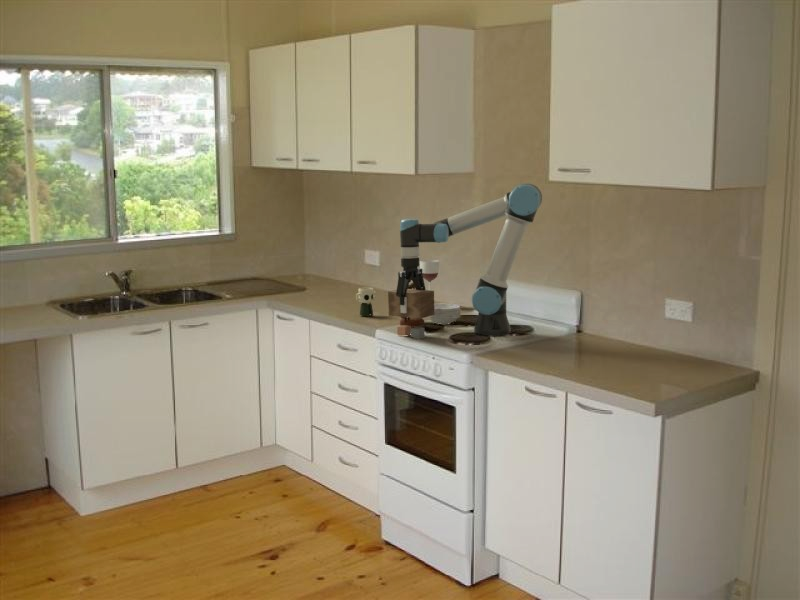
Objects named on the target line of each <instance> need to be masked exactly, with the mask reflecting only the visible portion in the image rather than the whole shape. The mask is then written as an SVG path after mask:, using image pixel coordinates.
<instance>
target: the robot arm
mask: <svg viewBox="0 0 800 600" xmlns="http://www.w3.org/2000/svg"><path fill="white" fill-rule="evenodd" d="M542 201H543V194H542V192H541V190H540V189H539V187H538V186H536V185H535V184H532V183H524V184H523V183H522V184H519V185H517V186H515V187H514V188H513V189H512V190H511V191H508V192H507V193H505V194H504V196H502V197H500V198H498V199H495V200H492V201H489V202H487V203H484V204H482V205H478V206H476V207H473V208H471V209H468V210H465V211H462V212H459V213H457V214H455V215H452V216H448V217H447V218H445V219H441V220H437V221H436V222H432V223H419V219H417V218H405V219H401V221H400V225H399V235H400V257H401V258H400V266H401V267H402V268H403V269H402V271H398V273H397V274H398V275H397V276H398V277H397V285H396V290H397V291H396V296H397V297H400V309H401V313H407V297H405V295H406V292H407V289H408V285H410V283H413V284H414V286H415V289H417V290H427V289H426V285H425V284H426V283H425V281H424V280H425V279H424V278H423V274H422V272H423V270H422V269H420V257H419V256H420V243H421V244H422V243H437V244H438V243H439V244H440V243H446V242H448V240H449V238H450V237H452V236H454V235H457V234H460V233H462V232H466V231H468V230H471V229H474V228H476V227H479V226H482V225H484V224H487V223H490V222H493V221H496V220H499V219H501V218H504V217H505V221H504V223H503V224H504V225H503V227H502V229H501V232H500V235H499V238H498V241H497V243H496V246H495V248H494V252H493V254H492V257H491V260H490V262H489V265H488V267H487V270H486V273H485V274H483V275H481V276H480V277H479V279H478V284H477V287H476V288H475V290H474V292H473V293H472V297H471V303H472V306H473V309H474V310H475V311H476V312H478V313H477V314H478V315H477V318H476V321H475V325H474V327H473V332H474V334H476V333H478V334H477V335H479V334H483V335H482V336H486V335H487V337H489V336H490V337H491V336H492V337H495V336H498V337H499V336H505V335H510V334H511V325H510V322H509V320H508V315H507V290H508V288H509V284H508V283H507V280H508V277H509V275H510V272H511V269H512V267H513V264H514V262H515V258H516V256H517V253H518V252H519V248H520V245H521V243H522V240H523V238H524V235H525V232H526V229H527V227H528V225H531V224H532V223H534V219H535V217H536V214H537V212H538V209H539V208H540V206H541V205H542V203H543V202H542ZM418 267H419V268H418ZM411 281H412V282H411ZM509 333H510V334H509Z"/></svg>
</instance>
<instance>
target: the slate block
mask: <svg viewBox="0 0 800 600" xmlns="http://www.w3.org/2000/svg"><path fill="white" fill-rule="evenodd" d="M425 330H426V329H425V327H424V328H422V327H414V328H411V335H410V338H411V337H414V338H413V339H417V340H418V339H423V338H425V336H426V335H425V334H426V333H425V332H426V331H425Z"/></svg>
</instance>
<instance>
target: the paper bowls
mask: <svg viewBox="0 0 800 600" xmlns="http://www.w3.org/2000/svg"><path fill="white" fill-rule="evenodd" d="M434 312H435V315H432V316H428V317H427V318H430V321H431V323H432V322H436V323H441V324H448V323H451V322H453V321H455V322H456V321H457V319H458V318H459V319H460V318H461V312H462V311H461V305H459V304H455V303H443V302H442V303H441V302H440V303H439V302H438V303H434ZM448 325H449V324H448Z"/></svg>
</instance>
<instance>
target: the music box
mask: <svg viewBox="0 0 800 600" xmlns="http://www.w3.org/2000/svg"><path fill="white" fill-rule="evenodd" d="M408 289H415V286H414V284H413V282H410V283H409V285H408ZM400 318H401V319H400V321H399V326H402V325H406V326H411V327H412V326H419V325H423V324H424V325H425V319H424V318H421V319H419V318H409V317H400Z"/></svg>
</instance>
